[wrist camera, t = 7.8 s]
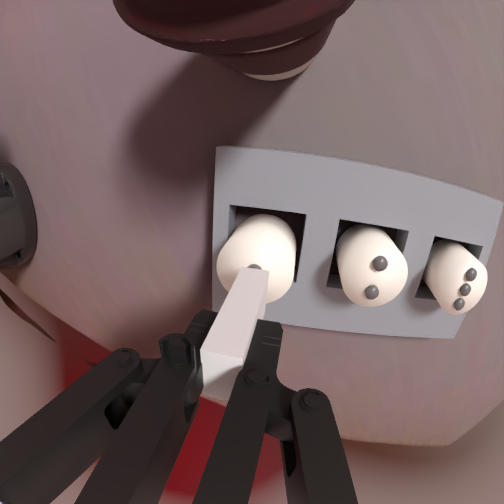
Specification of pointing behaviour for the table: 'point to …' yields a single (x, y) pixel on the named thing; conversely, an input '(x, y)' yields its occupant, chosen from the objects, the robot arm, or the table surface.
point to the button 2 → (370, 265)
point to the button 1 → (260, 253)
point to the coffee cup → (240, 30)
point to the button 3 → (454, 276)
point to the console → (359, 210)
